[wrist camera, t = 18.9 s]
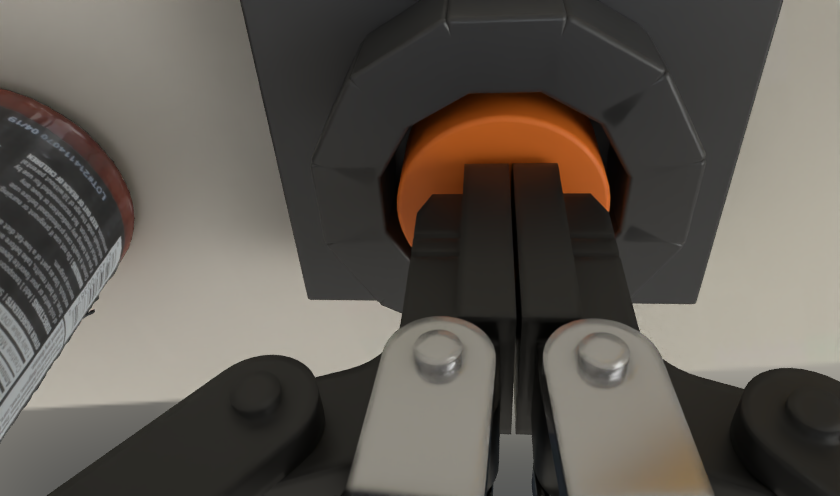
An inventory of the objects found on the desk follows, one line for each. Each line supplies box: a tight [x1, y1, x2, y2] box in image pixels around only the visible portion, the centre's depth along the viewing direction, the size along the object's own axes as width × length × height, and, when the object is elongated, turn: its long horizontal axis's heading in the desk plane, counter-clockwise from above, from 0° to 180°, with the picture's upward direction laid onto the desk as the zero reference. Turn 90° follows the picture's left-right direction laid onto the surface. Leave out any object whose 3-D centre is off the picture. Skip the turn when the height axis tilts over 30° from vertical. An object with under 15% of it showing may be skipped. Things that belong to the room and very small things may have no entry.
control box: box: [240, 0, 783, 313], centre depth 13 cm, size 9×8×4 cm
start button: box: [397, 92, 610, 247], centre depth 12 cm, size 4×4×2 cm
